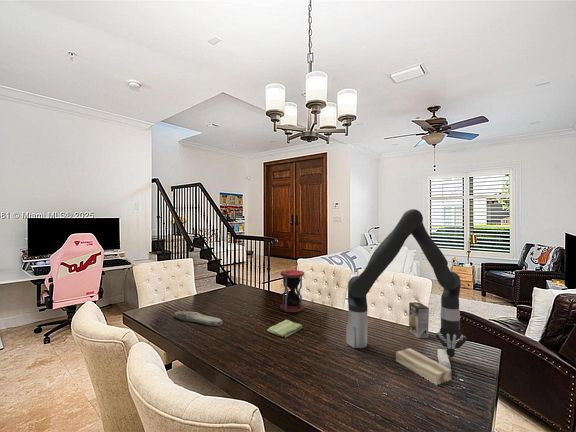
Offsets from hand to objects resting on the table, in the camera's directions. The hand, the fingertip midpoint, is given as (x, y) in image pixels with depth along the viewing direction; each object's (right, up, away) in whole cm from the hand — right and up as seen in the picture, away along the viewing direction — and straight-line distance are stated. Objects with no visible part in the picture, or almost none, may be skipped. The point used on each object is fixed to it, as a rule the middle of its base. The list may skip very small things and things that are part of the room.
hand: (450, 356), depth 127 cm
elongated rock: (-127, -1, +45) cm, 135 cm away
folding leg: (-5, -1, -4) cm, 7 cm away
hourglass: (-70, -1, +68) cm, 98 cm away
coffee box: (-2, -2, +27) cm, 27 cm away
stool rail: (-17, -2, -8) cm, 19 cm away
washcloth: (-74, -2, +31) cm, 80 cm away
